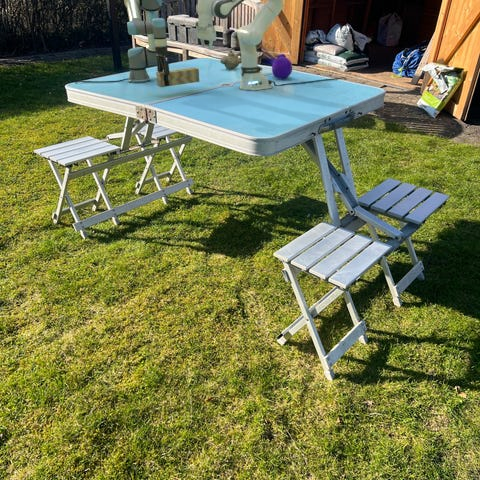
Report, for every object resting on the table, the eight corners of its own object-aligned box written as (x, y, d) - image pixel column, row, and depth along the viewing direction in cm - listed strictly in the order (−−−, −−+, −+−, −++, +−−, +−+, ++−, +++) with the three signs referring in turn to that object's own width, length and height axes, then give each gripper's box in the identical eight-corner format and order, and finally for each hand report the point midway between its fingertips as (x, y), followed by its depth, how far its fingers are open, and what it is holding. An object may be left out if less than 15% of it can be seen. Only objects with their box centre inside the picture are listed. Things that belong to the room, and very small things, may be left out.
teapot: (224, 71, 366) (223, 51, 359) (217, 69, 375) (216, 50, 367) (246, 68, 375) (246, 49, 368) (239, 67, 384) (239, 48, 376)
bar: (161, 87, 285) (159, 73, 281) (157, 85, 290) (156, 72, 285) (199, 81, 298) (198, 68, 293) (195, 80, 302) (194, 67, 298)
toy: (277, 73, 354) (291, 83, 334) (257, 69, 347) (271, 79, 326) (283, 52, 346) (298, 62, 326) (263, 47, 339) (277, 57, 318)
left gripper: (173, 47, 272) (176, 86, 284) (160, 43, 286) (164, 81, 298) (161, 48, 268) (165, 88, 280) (149, 45, 282) (153, 83, 294)
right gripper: (218, 24, 277) (219, 48, 284) (202, 22, 292) (203, 45, 299) (209, 25, 274) (210, 49, 281) (194, 23, 289) (195, 46, 296)
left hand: (164, 84), depth 289 cm, fingers closed on bar, 6 cm apart
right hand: (207, 47), depth 290 cm, fingers open, 8 cm apart
